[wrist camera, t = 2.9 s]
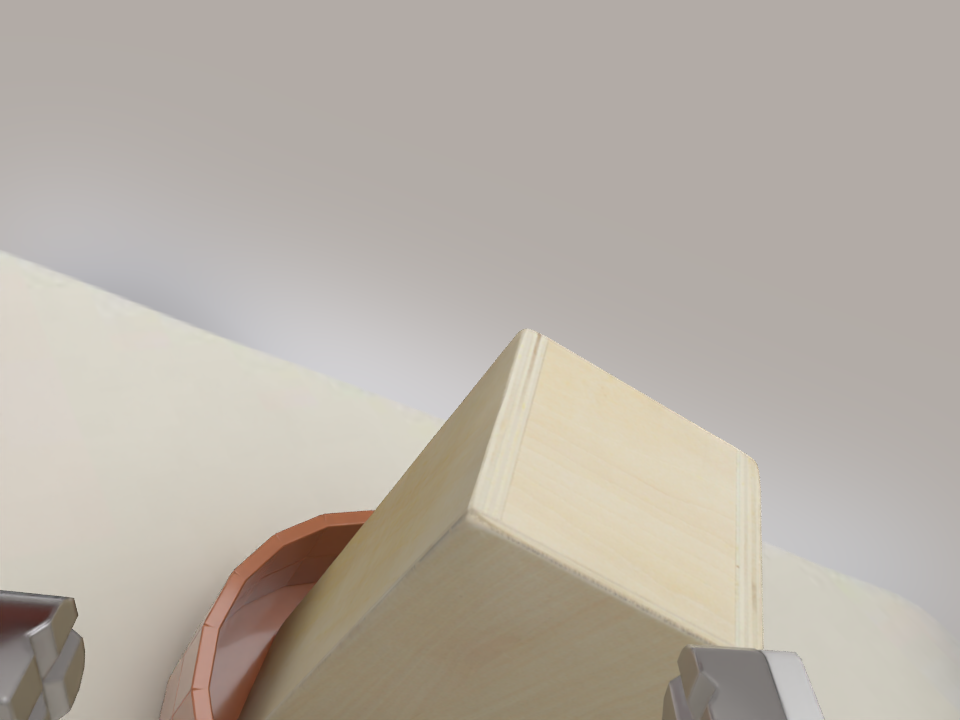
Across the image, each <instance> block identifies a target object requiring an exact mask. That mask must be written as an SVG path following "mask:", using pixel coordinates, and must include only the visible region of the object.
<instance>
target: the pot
mask: <svg viewBox="0 0 960 720" xmlns="http://www.w3.org/2000/svg"><path fill="white" fill-rule="evenodd" d="M374 511H375V510H374ZM374 511H372V510H370V511H357V512H343V513H330V514H323V515H319V516H317V517H314V518H312V519H310V520H307V521H305V522H302V523H300V524H298V525H295V526H293V527H290V528H288V529H286V530H283V531H281V532H278V533H276V534H275V535H273V536H272V537H270V538H269V539H268V540H267V541H266V542H265V543H264V544H263V545H261V546H260V547H259V548H258V549H257V550H256V551H255V552H254V553H252V554H251V555H250V556H249V557H248V558H247V559H246V560H245V561H243V562H242V563H241V564H240V565H239V566H238V567H237V568H236V569H234V571H233V572H232V573H231V575H230V576H229V578H228V579H227V581H226V583H225V584H224V586H223V588H222V589H221V591H220V592H219V594H218V596H217V597H216V599H215V601H214V602H213V604H212V605H211V607H210V609H209V610H208V612H207V613H206V615H205V617H204V618H203V620H202V622H201V623H200V625H199V627H198V628H197V630H196V631H195V633H194V635H193V637H192V638H191V640H190V642H189V644H188V646H187V647H186V649H185V651H184V653H183V654H182V656H181V658H180V660H179V662H178V663H177V665H176V667H175V669H174V670H173V672H172V674H171V676H170V678H169V680H168V683H167V688H166V693H165V697H164V701H163V705H162V709H161V713H160V717H159V720H237V719H238V717H239V715H240V713H241V711H242V708H243V706H244V704H245V702H246V699H247V697H248V695H249V693H250V691H251V688H252V686H253V684H254V682H255V679H256V677H257V675H258V673H259V671H260V668H261V666H262V664H263V662H264V659H265V657H266V655H267V653H268V651H269V649H270V647H271V645H272V642H273V640H274V638H275V636H276V634H277V632H278V630H279V629H280V627H281V625H282V624H283V623H284V621H285V620H286V619H287V618H288V616H289V615H290V614H291V613H292V612H293V610H294V609H295V608H296V607H297V606H298V604H299V603H300V602H301V601H302V600H303V598H304V597H305V596H306V595H307V594H308V592H309V591H310V590H311V589H312V588H313V586H314V585H315V584H316V583H317V581H318V580H319V579H320V578H321V577H322V575H323V574H324V573H325V571H326V570H327V569H328V567H329V566H330V565H331V564H332V563H333V561H334V560H335V559H336V558H337V557H338V555H339V554H340V553H341V552H342V551H343V549H344V548H345V547H346V545H347V544H348V543H349V542H350V540H351V539H352V538H353V537H354V535H355V534H356V533H357V532H358V530H359V529H360V528H361V527H362V526H363V524H364V523H365V522H366V521H367V520H368V518H369V517H370V516H371V515H372V514H373V512H374Z"/></svg>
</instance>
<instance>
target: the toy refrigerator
mask: <svg viewBox="0 0 960 720" xmlns="http://www.w3.org/2000/svg"><path fill="white" fill-rule="evenodd" d="M760 488H761V487H760V476H759V469H758V466H757V463H756V462H755V461H754V460H753V459H752V458H751V457H750V456H748V455H747V454H745V453H744V452H742V451H740V450H739V449H737V448H736V447H734V446H732V445H730V444H729V443H727V442H725V441H724V440H722V439H720V438H718V437H717V436H715V435H713V434H711V433H710V432H708V431H706V430H705V429H703V428H701V427H699V426H698V425H696V424H694V423H692V422H691V421H689V420H687V419H686V418H684V417H682V416H680V415H679V414H677V413H675V412H674V411H672V410H670V409H669V408H667V407H665V406H663V405H662V404H660V403H658V402H656V401H655V400H653V399H651V398H650V397H648V396H646V395H645V394H643V393H641V392H640V391H638V390H636V389H634V388H633V387H631V386H629V385H628V384H626V383H624V382H623V381H621V380H619V379H617V378H616V377H614V376H612V375H611V374H609V373H607V372H606V371H604V370H602V369H600V368H599V367H597V366H595V365H594V364H592V363H590V362H588V361H587V360H585V359H583V358H582V357H580V356H578V355H576V354H575V353H573V352H571V351H570V350H568V349H566V348H564V347H563V346H561V345H560V344H558V343H556V342H555V341H553V340H551V339H549V338H547V337H546V336H544V335H541V334H540V333H538V332H536V331H534V330H530V329H523V330H521V331H520V332H518V334H517V335H516V336H515V337H514V338H513V340H512V341H511V342H510V343H509V345H508V346H507V347H506V348H505V350H504V351H503V352H502V353H501V354H500V356H499V357H498V358H497V359H496V360H495V362H494V363H493V364H492V366H491V367H490V368H489V369H488V371H487V372H486V373H485V374H484V376H483V377H482V378H481V379H480V380H479V382H478V383H477V384H476V385H475V387H474V388H473V389H472V391H471V392H470V393H469V394H468V396H467V397H466V398H465V399H464V400H463V402H462V403H461V404H460V405H459V407H458V408H457V409H456V410H455V412H454V413H453V414H452V415H451V416H450V418H449V419H448V420H447V421H446V422H445V424H444V425H443V426H442V427H441V429H440V430H439V431H438V432H437V434H436V435H435V436H434V437H433V439H432V440H431V441H430V442H429V444H428V445H427V446H426V447H425V449H424V450H423V451H422V452H421V454H420V455H419V456H418V457H417V459H416V460H415V461H414V462H413V463H412V465H411V466H410V467H409V468H408V470H407V471H406V472H405V474H404V475H403V476H402V477H401V479H400V480H399V481H398V483H397V484H396V485H395V486H394V488H393V489H392V490H391V491H390V492H389V494H388V495H387V496H386V497H385V499H384V500H383V501H382V502H381V504H380V505H379V506H378V507H377V509H376V510H375V511H374V512H373V514H372V515H371V516H370V517H369V518H368V520H367V521H366V522H365V523H364V524H363V526H362V527H361V528H360V529H359V530H358V532H357V533H356V534H355V535H354V537H353V538H352V539H351V540H350V542H349V543H348V544H347V545H346V547H345V548H344V549H343V551H342V552H341V553H340V554H339V555H338V557H337V558H336V559H335V560H334V561H333V563H332V564H331V565H330V566H329V567H328V569H327V570H326V571H325V573H324V574H323V575H322V577H321V578H320V579H319V580H318V581H317V583H316V584H315V585H314V586H313V588H312V589H311V590H310V591H309V592H308V594H307V595H306V596H305V597H304V598H303V600H302V601H301V602H300V603H299V604H298V606H297V607H296V608H295V609H294V610H293V612H292V613H291V614H290V615H289V616H288V618H287V619H286V620H285V621H284V623H283V624H282V625H281V627H280V629H279V630H278V632H277V634H276V636H275V638H274V640H273V642H272V645H271V647H270V649H269V651H268V653H267V655H266V657H265V659H264V662H263V664H262V666H261V668H260V671H259V673H258V675H257V677H256V679H255V682H254V684H253V686H252V688H251V691H250V693H249V695H248V697H247V699H246V702H245V704H244V706H243V708H242V711H241V713H240V715H239V717H238V719H237V720H662V713H663V702H664V696H665V693H666V690H667V687H668V684H669V682H670V681H671V680H673V679H674V678H676V677H677V676H679V675H680V671H679V667H678V662H677V660H678V658H679V655H680V653H681V651H682V649H683V648H684V647H685V646H686V645H687V644H695V645H710V646H726V647H742V648H755V649H757V650H763V648H764V644H763V595H762V541H761V489H760Z"/></svg>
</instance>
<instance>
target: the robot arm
mask: <svg viewBox="0 0 960 720" xmlns="http://www.w3.org/2000/svg"><path fill="white" fill-rule="evenodd" d="M77 617H78V612H77V608H76V604H75V600H74V598H70V597H61V596H51V595H42V594H32V593H23V592H13V591H3V590H0V720H59V719H60V718H62V717H63V716H64V715H65V714H67V713H68V712H69V711H70V710H71V708H72V705H73V703H74V701H75V698H76V696H77V694H78V691H79V688H80V684H81V679H82V675H83V671H84V665H85V648H84V642H83V638H82V637H81V636H80V635H79V634H78V633H76V632H75V631H74V630H73V629H72V627H73V625H74V623H75V621H76V619H77ZM677 662H678V667H679V671H680V675H679V676H677V677H676V678H674V679H673V680H671V681H670V682H669V684H668V687H667V690H666V693H665V696H664V702H663V713H662V720H825V719H824V716H823V713H822V711H821V708H820V706H819V703H818V700H817V698H816V695H815V693H814V690H813V688H812V685H811V682H810V680H809V677H808V675H807V672H806V669H805V667H804V664H803V662H802V659H801V658H800V657H799V656H798V655H797V654H796V653H795V652H786V651H773V650H757V649H755V648H742V647H726V646H710V645H695V644H687V645H686V646H685V647H684V648H683V649H682V651H681V653H680V655H679V658H678V660H677Z"/></svg>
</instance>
